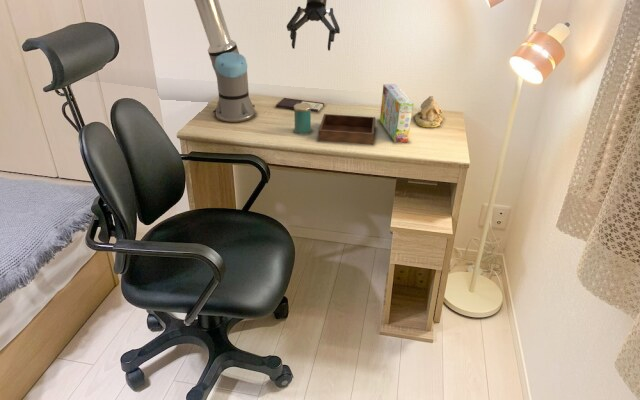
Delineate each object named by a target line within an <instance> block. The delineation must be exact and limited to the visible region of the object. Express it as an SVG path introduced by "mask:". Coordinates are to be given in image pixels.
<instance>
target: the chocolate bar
mask: <svg viewBox="0 0 640 400" xmlns="http://www.w3.org/2000/svg"><path fill="white" fill-rule="evenodd" d="M299 103H306V104H309V105H311V113H318V112H320V110H321V109H323V107H324V106H325V103H324V102H320V101H312V100H304V99H297V98H289V97H283V98H282V99H281V100H280V101H278V103H276V105H275V106H276V108H280V109H287V110H294V105H296V104H299Z"/></svg>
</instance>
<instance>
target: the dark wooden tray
mask: <svg viewBox="0 0 640 400" xmlns="http://www.w3.org/2000/svg"><path fill="white" fill-rule="evenodd" d="M375 124H376V116H364V115H363V116H362V115H348V114H347V115H346V114H333V113H323V116H322V119H321V122H320V125H319V128H318V141H319V142H332V143H345V144H361V145H374V137H375V126H376V125H375Z"/></svg>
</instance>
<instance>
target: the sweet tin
mask: <svg viewBox="0 0 640 400" xmlns="http://www.w3.org/2000/svg"><path fill="white" fill-rule="evenodd" d="M293 111H294V132H295V133H296V134H298V135H306V134H309V133H311V131H312V129H311V128H312V111H311V105H309V104H306V103H299V104H296V105H294V109H293Z"/></svg>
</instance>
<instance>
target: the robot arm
mask: <svg viewBox="0 0 640 400" xmlns="http://www.w3.org/2000/svg"><path fill="white" fill-rule="evenodd" d="M327 2H328V1H327V0H306V6H305V8H303V7H301V6H297V9H296V12H295V13H294V15H293V16H292V17H291V18H290V20H289V21H288V22H287V24H286V29H287V31H288V32H290V34H289V37H290V40H291V47H292V50H294V49H296V48H295V47H296V40H297V34H298V33H297V31H298V30H299V29H300V28H302V26H303V25H305V24H306V23H308V22H309V21H310V22H319V21H321V23H322V24H324V26H325V27H326V29H327V30H328V32H329V33H328V41H327V51H329V52H330V51H331V45H332V43H333V42H335V37H336V34H338V35H339V34H340V33H341V30H340V29H341V28H340V26H339V24H338V21H337V19H336V16H335V14H334V8H333V7H330V8H329V9H327ZM194 3H195V6H196V9H197V12H198V15H199V17H200V21H201V23H202V26H203V27H202V28H203V30H204V33H205V36H206V38H207V41H208V44H209V47H208V48H207V52H208V56H209V59H210V61H211V66H212V68H213V71H214V73H215V77H216V81H217V82H216V83H217V92H218V93H217V94H218V100H217V105H216V108H215V109H214V110H213V111H212V113H215V116H216V118H217V120H219V121H221V122H225V123H242V122H247V121H249V120H251V119H253V118H254V117H255V104H253V103H252V101H251V98H250V93H249V92H250V91H249V80H248V79H249V78H248V63H247V59H246V57H245V56H244V55H243V54H240V51H239V49H238V46H237V43H236V41H235V40H233V39H231V35H230V32H229V28H228V26H227V22H226V20H225V16H224V14H223V10H222V7H221V4H220V1H219V0H194ZM302 15H303V16H302ZM326 15H327V16H328V17H330V20H331V22H332V24H331V22H330V21H329V20H328V19H327V18H326Z"/></svg>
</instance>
